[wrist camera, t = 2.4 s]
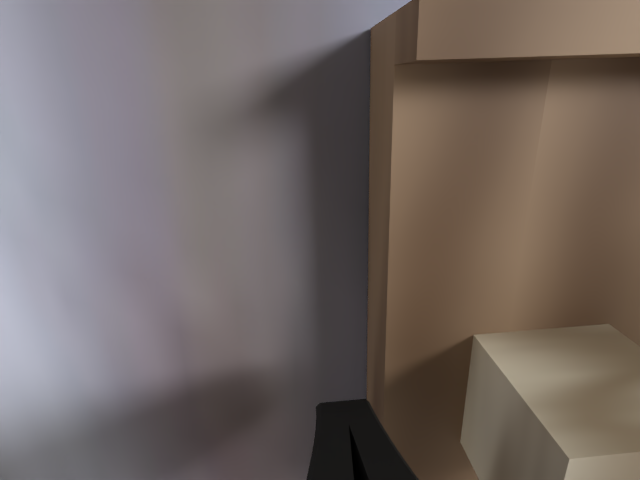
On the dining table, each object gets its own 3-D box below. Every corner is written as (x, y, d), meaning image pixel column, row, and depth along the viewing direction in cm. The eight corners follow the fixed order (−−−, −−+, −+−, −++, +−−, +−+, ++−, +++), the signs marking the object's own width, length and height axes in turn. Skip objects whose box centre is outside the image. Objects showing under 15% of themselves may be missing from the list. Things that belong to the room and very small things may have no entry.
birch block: (608, 323, 11) (766, 438, 8) (580, 430, 13) (702, 569, 9) (473, 334, 11) (569, 459, 7) (460, 442, 13) (534, 591, 9)
